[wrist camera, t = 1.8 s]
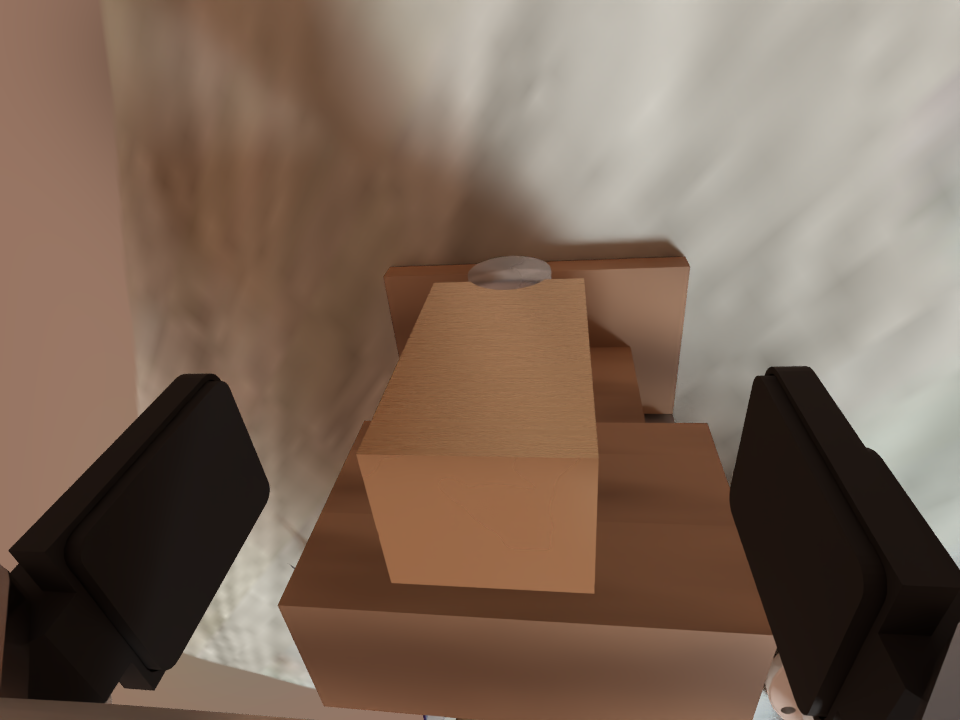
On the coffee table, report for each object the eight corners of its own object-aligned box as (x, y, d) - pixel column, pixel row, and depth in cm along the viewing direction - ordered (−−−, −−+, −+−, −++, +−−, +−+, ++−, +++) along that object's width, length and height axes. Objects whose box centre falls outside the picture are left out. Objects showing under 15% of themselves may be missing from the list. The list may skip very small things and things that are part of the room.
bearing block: (666, 426, 26) (744, 743, 15) (419, 423, 28) (324, 706, 17) (685, 256, 22) (817, 528, 11) (389, 267, 24) (233, 509, 12)
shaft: (577, 700, 25) (583, 930, 19) (501, 694, 26) (482, 915, 20) (581, 253, 14) (598, 458, 8) (444, 258, 14) (356, 454, 8)
